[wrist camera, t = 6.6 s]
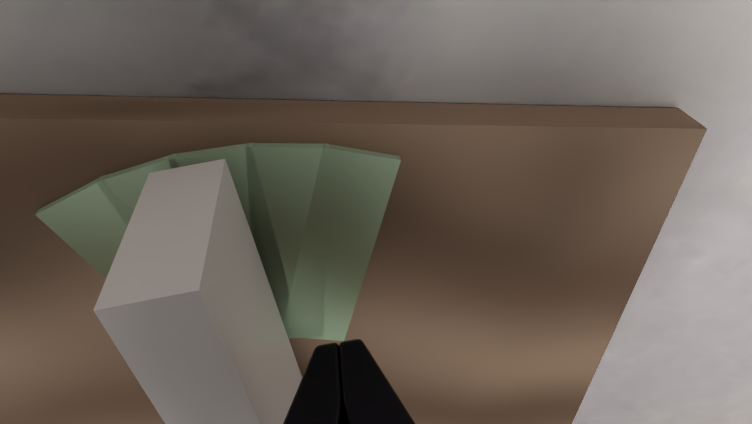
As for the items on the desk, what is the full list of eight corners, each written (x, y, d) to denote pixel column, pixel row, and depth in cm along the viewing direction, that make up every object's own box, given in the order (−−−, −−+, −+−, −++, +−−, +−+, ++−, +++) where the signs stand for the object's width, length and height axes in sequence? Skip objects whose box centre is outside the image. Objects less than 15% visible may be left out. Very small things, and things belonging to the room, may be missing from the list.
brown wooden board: (512, 507, 26) (522, 538, 25) (49, 548, 23) (36, 586, 22) (678, 107, 14) (711, 132, 13) (-203, 89, 11) (-257, 119, 10)
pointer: (357, 438, 18) (374, 591, 15) (251, 459, 18) (241, 617, 15) (272, 142, 12) (263, 286, 8) (105, 174, 12) (20, 333, 8)
